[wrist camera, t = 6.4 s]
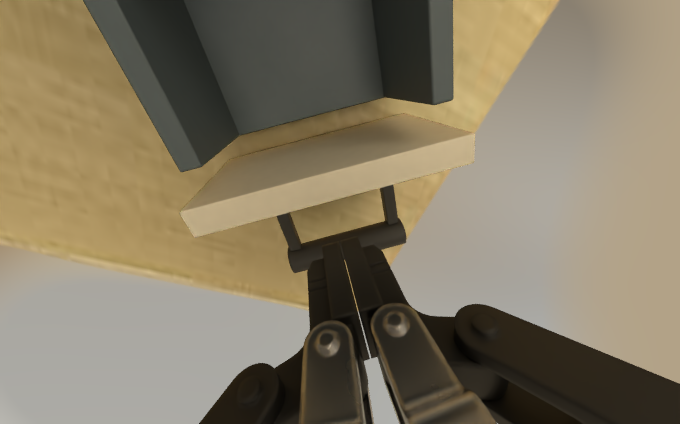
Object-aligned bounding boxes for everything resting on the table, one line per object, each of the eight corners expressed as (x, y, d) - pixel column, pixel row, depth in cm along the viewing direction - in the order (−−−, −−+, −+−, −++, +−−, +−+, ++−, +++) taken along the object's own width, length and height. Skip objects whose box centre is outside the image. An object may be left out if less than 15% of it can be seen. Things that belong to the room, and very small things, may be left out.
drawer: (412, 198, 19) (471, 258, 12) (265, 238, 18) (245, 320, 12) (373, -210, 10) (507, -759, 3) (92, -141, 10) (-318, -581, 3)
